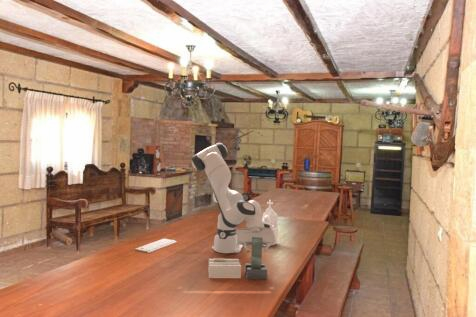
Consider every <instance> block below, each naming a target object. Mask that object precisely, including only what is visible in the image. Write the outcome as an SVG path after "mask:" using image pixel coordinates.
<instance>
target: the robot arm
mask: <svg viewBox="0 0 476 317" xmlns="http://www.w3.org/2000/svg"><path fill="white" fill-rule="evenodd" d="M228 154H229V153H228V148H227V147H226V146H225V145H224V144H223V142H217V143H215V144H214V145H211V146H208V147H206V148H204V149H203V150H201V151H199V152H198V153H196V154H194V155H193V156H192V157H191V165H192V167H193V169H195V170H196V171H197V172H203V171H205V175H206V176H207V179H208V181H209V182H210V184H211V185H210V186H211V187H212V192H213V193H212V199H213V201H214V202H215V203H216V204H217V205H218V208H219V211H220V213H219V214H218V216H217V228H216V235H215V236H214V239H213V240H214V241H213V245H212V247H211V249H212V250H213V251H214V252H216V253H219V254H220V253H221V254H234V253H237V254H239V253H240V252H241V250H242V249H243V248H244V249H245V252H246V253H249V252H250V247H248V246H252V237H262V245H266V246H265V247H264V249H263V252H264V253H268V249H269V245H271V246H274V244H275V241H276V240H275V235H274V232H273V230H272V226H271V225H269V224H266V223H263V222H262V217H263V212H262V208H261V204H260V202H258V201H256V200H254V199H253V200H252V199H251V200H249V201H246V200H244V196H243V194H242V193H241V192H239V191H237V190H234V189H231V188H230V187H229V185H230V183H231V180H232V172H231V170H230V168H229V166H228V164H227V163H226V161H225V160H226V159H227V158H228V156H229V155H228ZM243 221H245V222H246V227H238V226H239V225H240V224H241V223H242V222H243ZM275 245H276V244H275Z"/></svg>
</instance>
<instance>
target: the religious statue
mask: <svg viewBox="0 0 476 317" xmlns="http://www.w3.org/2000/svg"><path fill="white" fill-rule="evenodd" d="M266 204H267V205H268V207H267V208H266V209H265V211H264V212H262V222H263V223H266V224H269V225H271V226H272V230H273V232H274V235H275V240H276V241H275V244H274V245H276V244H277V243H278V232H279V228H278V217H279V214H278V213H277V212H276V211H274V209H273V207H272V206H273V205H274V202H273V201H272V199H268V201H266ZM274 245H273V246H274ZM271 246H272V245H269V247H271ZM262 247H266V245H262ZM269 247H268V248H269Z"/></svg>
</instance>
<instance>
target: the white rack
mask: <svg viewBox="0 0 476 317" xmlns="http://www.w3.org/2000/svg"><path fill="white" fill-rule="evenodd" d="M225 260H234V261H235V263H231V262H225ZM207 268H208V279H242V278H241V277H242V265H241V262H240V259H239V258H224V262H214V258H208V267H207Z"/></svg>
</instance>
